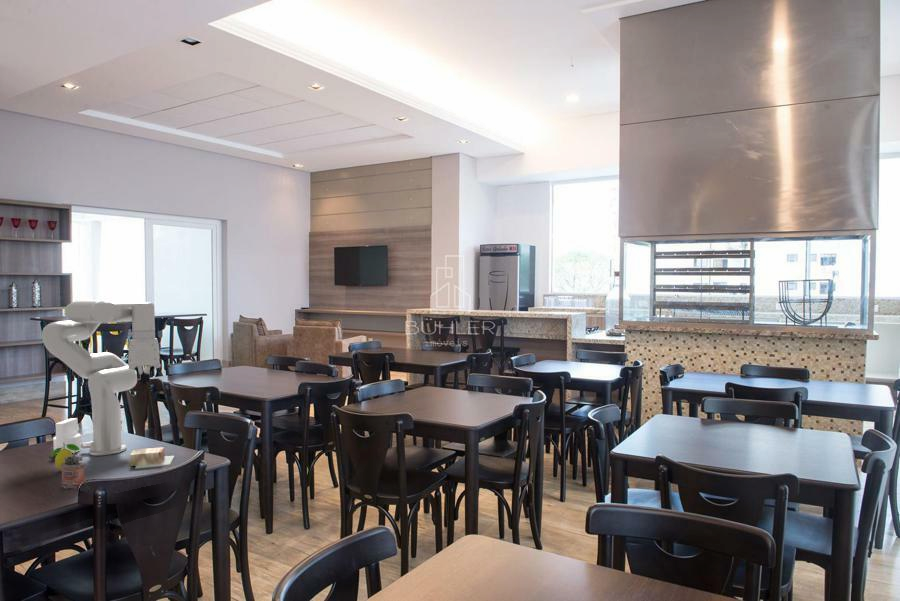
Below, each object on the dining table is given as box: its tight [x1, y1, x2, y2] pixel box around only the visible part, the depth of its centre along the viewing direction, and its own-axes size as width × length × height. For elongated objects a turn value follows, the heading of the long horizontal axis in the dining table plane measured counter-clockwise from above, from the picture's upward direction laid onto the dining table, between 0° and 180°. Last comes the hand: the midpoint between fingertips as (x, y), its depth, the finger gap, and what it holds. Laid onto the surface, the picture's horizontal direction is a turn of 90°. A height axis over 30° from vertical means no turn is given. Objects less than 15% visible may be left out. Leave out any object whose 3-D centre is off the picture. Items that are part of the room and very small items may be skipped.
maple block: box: [129, 446, 165, 467], centre depth 215 cm, size 4×7×10 cm
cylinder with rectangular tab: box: [52, 417, 82, 454], centre depth 231 cm, size 9×9×12 cm
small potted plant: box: [61, 454, 86, 490], centre depth 191 cm, size 8×3×10 cm, turn 76°
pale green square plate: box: [135, 455, 175, 469], centre depth 216 cm, size 11×11×1 cm
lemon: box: [50, 442, 80, 470], centre depth 208 cm, size 7×6×10 cm
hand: (145, 384), depth 223 cm, fingers closed
